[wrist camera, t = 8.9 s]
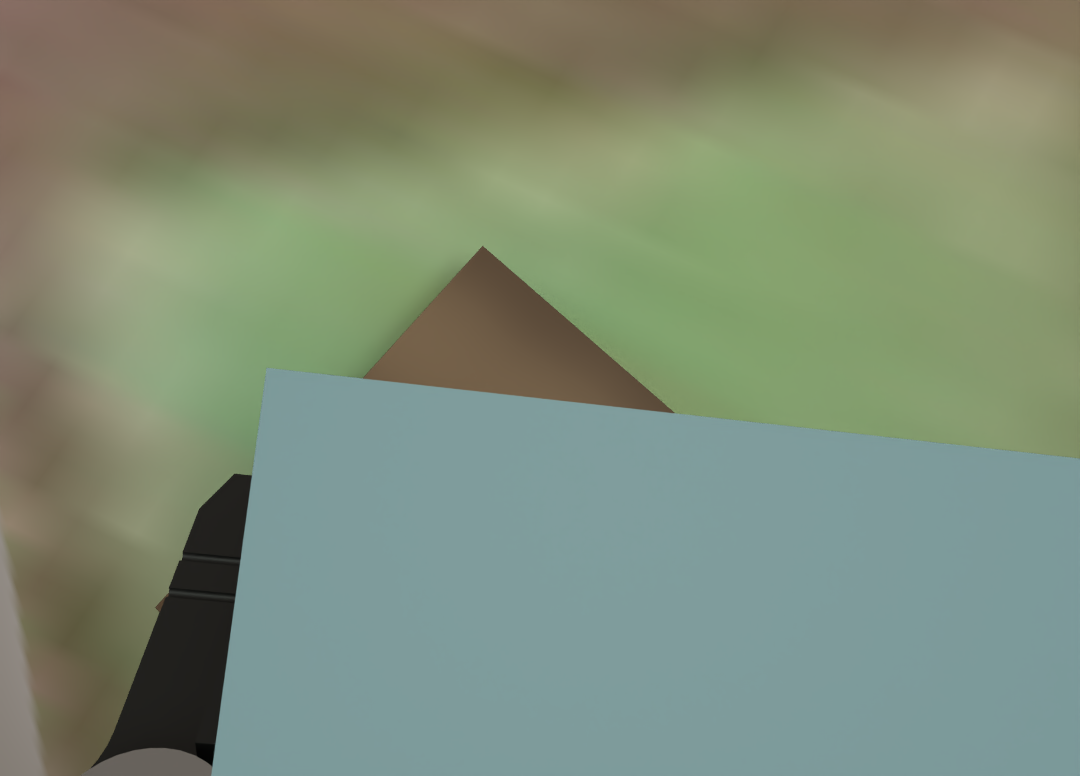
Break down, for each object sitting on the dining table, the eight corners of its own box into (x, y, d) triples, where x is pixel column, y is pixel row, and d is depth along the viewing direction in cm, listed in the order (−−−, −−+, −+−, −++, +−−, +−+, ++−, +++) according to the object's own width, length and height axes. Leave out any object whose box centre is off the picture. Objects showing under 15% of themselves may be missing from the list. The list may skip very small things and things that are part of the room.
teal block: (389, 455, 15) (268, 367, 5) (723, 491, 15) (1218, 474, 5) (347, 808, 14) (113, 1489, 4) (695, 837, 15) (1189, 1527, 5)
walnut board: (479, 271, 29) (482, 246, 26) (797, 547, 29) (835, 553, 26) (187, 595, 28) (155, 607, 25) (521, 889, 28) (530, 936, 25)
